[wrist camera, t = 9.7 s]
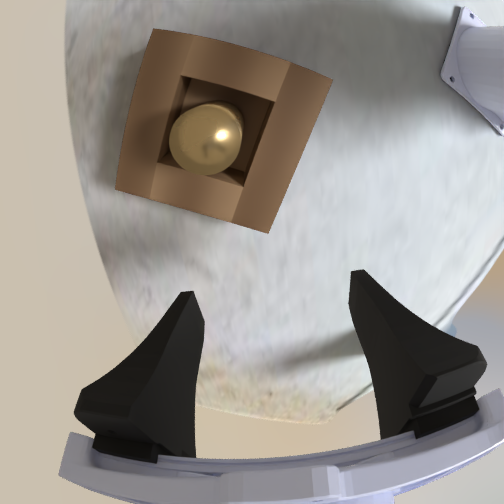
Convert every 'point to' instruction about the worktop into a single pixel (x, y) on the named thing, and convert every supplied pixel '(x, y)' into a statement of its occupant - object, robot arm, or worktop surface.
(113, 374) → the robot arm
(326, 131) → the worktop surface
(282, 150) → the hole block
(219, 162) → the bronze pin
